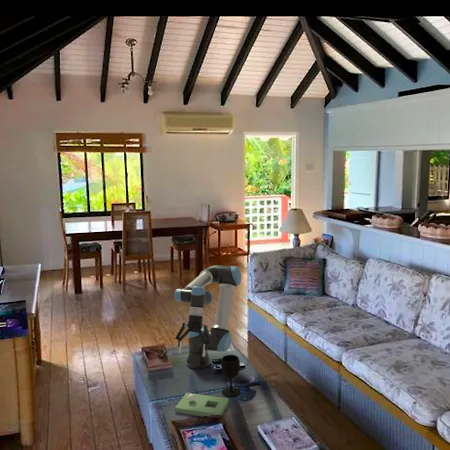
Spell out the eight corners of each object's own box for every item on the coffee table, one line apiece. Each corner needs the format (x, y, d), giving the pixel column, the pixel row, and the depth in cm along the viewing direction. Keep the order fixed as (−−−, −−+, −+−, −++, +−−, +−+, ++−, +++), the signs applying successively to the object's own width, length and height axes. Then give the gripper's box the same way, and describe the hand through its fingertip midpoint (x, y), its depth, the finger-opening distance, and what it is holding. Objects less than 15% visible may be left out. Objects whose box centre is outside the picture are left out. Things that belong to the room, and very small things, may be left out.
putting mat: (186, 397, 257) (186, 392, 257) (228, 402, 250) (228, 398, 250) (175, 412, 242) (174, 407, 242) (219, 418, 235) (219, 414, 235)
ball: (189, 399, 250) (189, 391, 250) (196, 400, 249) (196, 392, 248) (186, 402, 246) (186, 395, 246) (193, 403, 245) (193, 396, 245)
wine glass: (224, 398, 255) (223, 363, 252) (219, 389, 265) (218, 355, 262) (242, 395, 258) (242, 360, 255) (237, 386, 268) (236, 353, 265)
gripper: (172, 312, 260) (167, 352, 256) (215, 317, 253) (211, 358, 250) (177, 312, 267) (173, 351, 264) (219, 317, 260) (215, 357, 257)
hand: (191, 354), depth 257 cm, fingers open, 13 cm apart
